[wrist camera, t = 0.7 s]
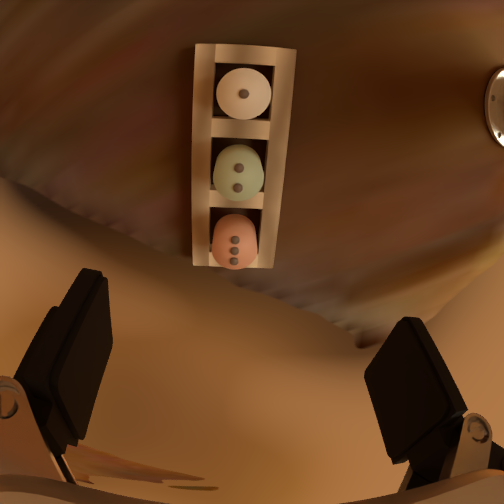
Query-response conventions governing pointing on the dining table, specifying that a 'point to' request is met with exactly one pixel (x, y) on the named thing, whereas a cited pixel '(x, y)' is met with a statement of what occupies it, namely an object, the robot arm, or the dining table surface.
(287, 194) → the dining table surface
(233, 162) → the button two
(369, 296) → the dining table surface
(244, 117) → the button one
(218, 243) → the button three
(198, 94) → the wooden panel frame
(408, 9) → the dining table surface
